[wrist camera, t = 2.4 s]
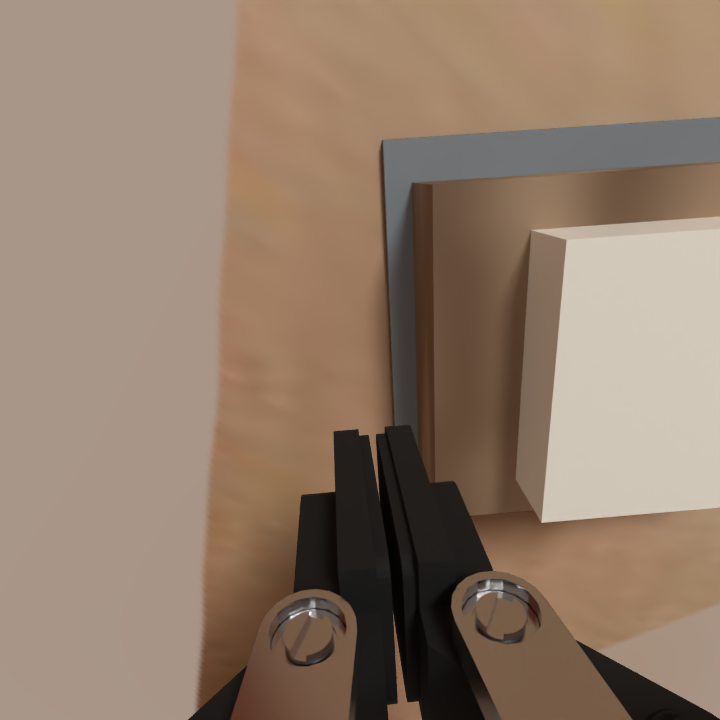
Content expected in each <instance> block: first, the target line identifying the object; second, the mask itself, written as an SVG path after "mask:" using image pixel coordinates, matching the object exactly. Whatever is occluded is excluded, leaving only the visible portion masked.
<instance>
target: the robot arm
mask: <svg viewBox="0 0 720 720" xmlns="http://www.w3.org/2000/svg"><path fill="white" fill-rule="evenodd" d="M376 446H377V462H378V479H379V495H378V489H377V483H376V477H375V471H374V465H373V459H372V453H371V447H370V441H369V435H362V436H359V432H358V429H356V430H345V431H334V461H335V492H329V493H319V494H308V495H302V496H301V503H300V516H299V529H298V542H297V555H296V568H295V581H294V594H291V595H288V596H287V597H285V598H284V599H282V600H281V601H279V602H278V603H276V604H275V605H274V606H273V607H272V608H271V609H270V611H269V612H268V613H267V614H266V615H265V617H264V619H263V621H262V623H261V625H260V627H259V630H258V633H257V636H256V640H255V643H254V646H253V649H252V652H251V656H250V659H249V662H248V665H247V666H246V667H245V668H244V669H243V670H242V671H241V672H240V673H239V674H238V675H236V676H235V677H234V678H233V679H232V680H231V681H230V682H229V683H228V684H227V685H226V686H224V687H223V688H222V689H221V690H220V691H219V692H218V693H217V694H216V695H215V696H214V697H212V698H211V699H210V700H209V701H208V702H207V703H206V704H205V705H204V706H203V707H201V708H200V709H199V710H198V711H197V712H196V713H195V714H194V715H193V716H192V717H191V718H189V719H188V720H388V710H387V705H389V704H397V703H398V701H397V681H396V663H395V644H394V625H393V614H394V621H395V627H396V634H397V640H398V647H399V653H400V660H401V666H402V672H403V679H404V685H405V692H406V698H407V702H415V701H419V705H420V711H421V716H422V720H720V719H719V718H717V717H716V716H714V715H713V714H711V713H709V712H707V711H706V710H704V709H702V708H700V707H698V706H697V705H695V704H693V703H691V702H689V701H687V700H686V699H684V698H682V697H680V696H678V695H676V694H674V693H673V692H671V691H669V690H667V689H665V688H663V687H662V686H660V685H658V684H656V683H654V682H652V681H650V680H648V679H647V678H645V677H643V676H641V675H639V674H638V673H636V672H633V671H632V670H630V669H628V668H626V667H625V666H623V665H621V664H619V663H617V662H615V661H614V660H612V659H610V658H608V657H606V656H604V655H602V654H601V653H599V652H597V651H595V650H593V649H591V648H590V647H588V646H586V645H584V644H582V643H580V642H578V641H577V640H575V639H574V637H573V636H572V635H571V633H570V632H569V630H568V629H567V628H566V626H565V625H564V623H563V622H562V621H561V619H560V618H559V616H558V615H557V614H556V612H555V611H554V609H553V608H552V607H551V605H550V604H549V602H548V601H547V600H546V598H545V597H544V596H543V595H542V594H541V593H540V592H539V591H538V590H537V588H536V587H534V586H533V585H531V584H530V583H528V582H527V581H525V580H524V579H522V578H520V577H517V576H514V575H512V574H509V573H504V572H497V571H493V569H492V566H491V564H490V562H489V559H488V557H487V555H486V552H485V550H484V547H483V545H482V543H481V540H480V538H479V536H478V533H477V531H476V529H475V526H474V524H473V522H472V519H471V517H470V515H469V512H468V510H467V508H466V505H465V503H464V501H463V498H462V496H461V493H460V491H459V489H458V486H457V485H456V483H455V482H454V481H445V482H435V483H430V481H429V478H428V475H427V472H426V469H425V467H424V464H423V461H422V458H421V455H420V452H419V449H418V446H417V443H416V440H415V437H414V434H413V431H412V428H411V426H410V425H400V426H389V427H385V434H376ZM379 496H380V501H379Z"/></svg>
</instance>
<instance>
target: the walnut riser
mask: <svg viewBox="0 0 720 720" xmlns="http://www.w3.org/2000/svg"><path fill="white" fill-rule="evenodd" d="M412 202H413V244H414V287H415V329H416V372H417V414H418V449H419V452H420V455H421V458H422V461H423V464H424V467H425V469H426V472H427V475H428V478H429V481H430V483H435V482H445V481H454V482H455V483H456V485H457V486H458V489H459V491H460V493H461V496H462V498H463V501H464V503H465V505H466V508H467V510H468V512H469V515H470V516H475V515H487V514H499V513H510V512H522V511H534V509H533V508H532V506H531V504H530V503H529V501H528V499H527V498H526V496H525V494H524V493H523V491H522V489H521V488H520V486H519V484H518V482H517V481H516V464H517V448H518V432H519V416H520V400H521V384H522V368H523V352H524V336H525V320H526V304H527V288H528V272H529V256H530V240H531V230H539V229H553V228H567V227H581V226H595V225H609V224H622V223H636V222H650V221H664V220H678V219H692V218H706V217H720V161H717V162H703V163H689V164H674V165H660V166H645V167H631V168H617V169H602V170H588V171H573V172H559V173H545V174H530V175H516V176H501V177H487V178H472V179H458V180H444V181H429V182H415V183H412Z"/></svg>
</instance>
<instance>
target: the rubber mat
mask: <svg viewBox="0 0 720 720" xmlns="http://www.w3.org/2000/svg"><path fill="white" fill-rule="evenodd" d="M382 149H383V172H384V195H385V218H386V241H387V264H388V287H389V310H390V334H391V357H392V380H393V403H394V426H400V425H410V426H411V428H412V431H413V434H414V437H415V440H416V443H417V446H418V414H417V372H416V329H415V287H414V244H413V202H412V183H415V182H429V181H444V180H458V179H472V178H487V177H501V176H516V175H530V174H545V173H559V172H573V171H588V170H602V169H617V168H631V167H645V166H660V165H674V164H689V163H703V162H717V161H720V117H717V118H702V119H687V120H672V121H657V122H643V123H628V124H613V125H598V126H583V127H568V128H553V129H539V130H524V131H509V132H494V133H479V134H464V135H450V136H435V137H420V138H405V139H390V140H382Z"/></svg>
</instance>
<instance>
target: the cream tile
mask: <svg viewBox="0 0 720 720" xmlns="http://www.w3.org/2000/svg"><path fill="white" fill-rule="evenodd" d="M516 481H517V482H518V484H519V486H520V488H521V489H522V491H523V493H524V494H525V496H526V498H527V499H528V501H529V503H530V504H531V506H532V508H533V509H534V511H535V513H536V514H537V516H538V518H539V519H540V521H541V523H545V522H556V521H568V520H580V519H591V518H603V517H615V516H626V515H638V514H650V513H661V512H673V511H685V510H696V509H708V508H719V507H720V217H706V218H692V219H678V220H664V221H650V222H636V223H622V224H609V225H595V226H581V227H567V228H553V229H539V230H531V240H530V256H529V272H528V288H527V304H526V320H525V336H524V352H523V368H522V384H521V400H520V416H519V432H518V448H517V464H516Z"/></svg>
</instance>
